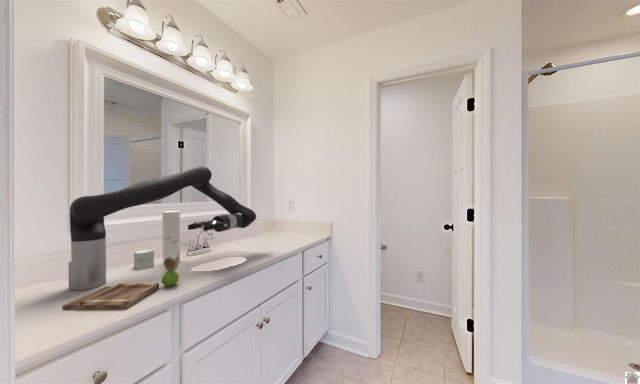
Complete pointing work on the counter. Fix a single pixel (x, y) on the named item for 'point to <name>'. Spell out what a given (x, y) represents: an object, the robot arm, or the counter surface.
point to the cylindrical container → (171, 234)
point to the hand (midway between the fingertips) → (196, 227)
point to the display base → (114, 296)
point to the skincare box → (143, 259)
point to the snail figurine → (170, 271)
